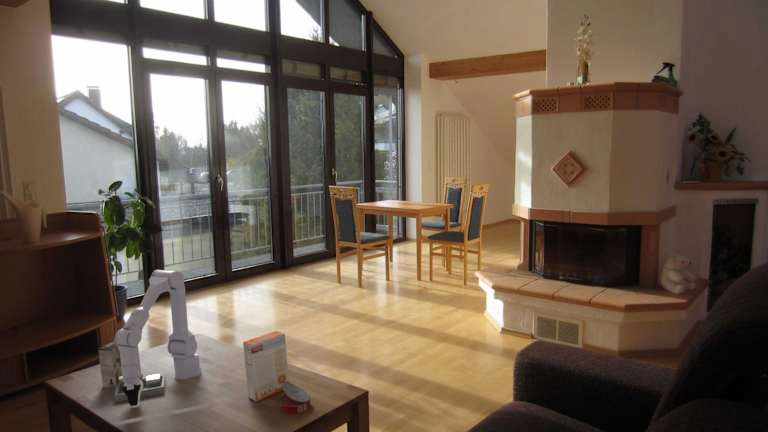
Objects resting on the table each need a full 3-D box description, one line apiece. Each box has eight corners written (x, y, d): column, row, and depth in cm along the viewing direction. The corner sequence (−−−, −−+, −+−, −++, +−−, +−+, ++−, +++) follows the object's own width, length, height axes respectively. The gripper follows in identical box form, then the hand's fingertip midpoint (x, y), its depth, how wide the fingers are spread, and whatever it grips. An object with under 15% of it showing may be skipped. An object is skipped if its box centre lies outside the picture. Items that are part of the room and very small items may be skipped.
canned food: (294, 412, 182) (300, 383, 185) (313, 418, 176) (320, 387, 179) (269, 410, 174) (276, 379, 177) (288, 415, 168) (295, 383, 171)
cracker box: (280, 383, 194) (276, 329, 191) (289, 388, 190) (286, 333, 187) (246, 397, 185) (242, 340, 182) (255, 403, 180) (251, 345, 177)
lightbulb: (126, 415, 176) (122, 384, 174) (125, 407, 181) (122, 377, 179) (146, 410, 178) (142, 379, 177) (144, 402, 184) (141, 373, 182)
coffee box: (119, 378, 204) (114, 339, 202) (133, 379, 203) (129, 339, 201) (102, 389, 195) (97, 348, 193) (117, 390, 194) (112, 349, 192)
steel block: (161, 384, 195) (160, 373, 194) (160, 390, 191) (159, 378, 190) (148, 387, 193) (146, 375, 193) (147, 392, 189) (146, 380, 188)
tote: (165, 383, 198) (164, 374, 198) (164, 395, 188) (163, 386, 188) (119, 391, 193) (118, 382, 192) (115, 405, 183) (114, 395, 182)
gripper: (120, 357, 183) (124, 394, 185) (114, 373, 169) (119, 413, 171) (142, 353, 185) (146, 390, 187) (138, 369, 172) (143, 408, 173)
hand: (134, 400), depth 179 cm, fingers closed on lightbulb, 6 cm apart
